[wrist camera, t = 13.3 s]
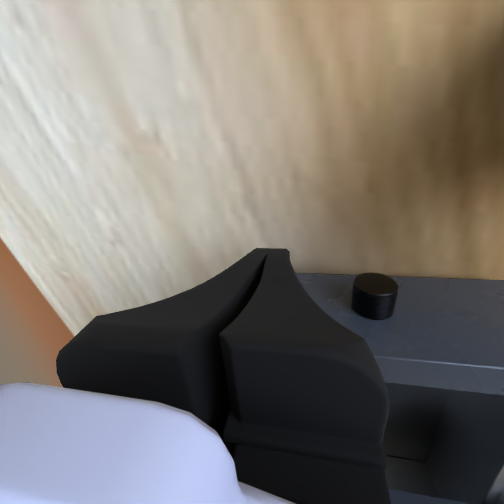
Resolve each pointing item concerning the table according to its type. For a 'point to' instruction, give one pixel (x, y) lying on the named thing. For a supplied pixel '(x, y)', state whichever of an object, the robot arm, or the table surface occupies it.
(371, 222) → the table surface
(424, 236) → the table surface
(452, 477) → the drawer
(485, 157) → the table surface
